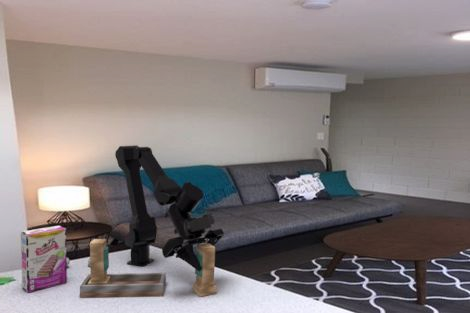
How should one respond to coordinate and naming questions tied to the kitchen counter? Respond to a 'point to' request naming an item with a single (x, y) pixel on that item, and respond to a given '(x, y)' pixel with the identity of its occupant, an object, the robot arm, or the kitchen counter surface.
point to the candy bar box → (43, 258)
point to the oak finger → (205, 270)
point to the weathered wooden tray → (117, 278)
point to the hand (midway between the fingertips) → (207, 268)
